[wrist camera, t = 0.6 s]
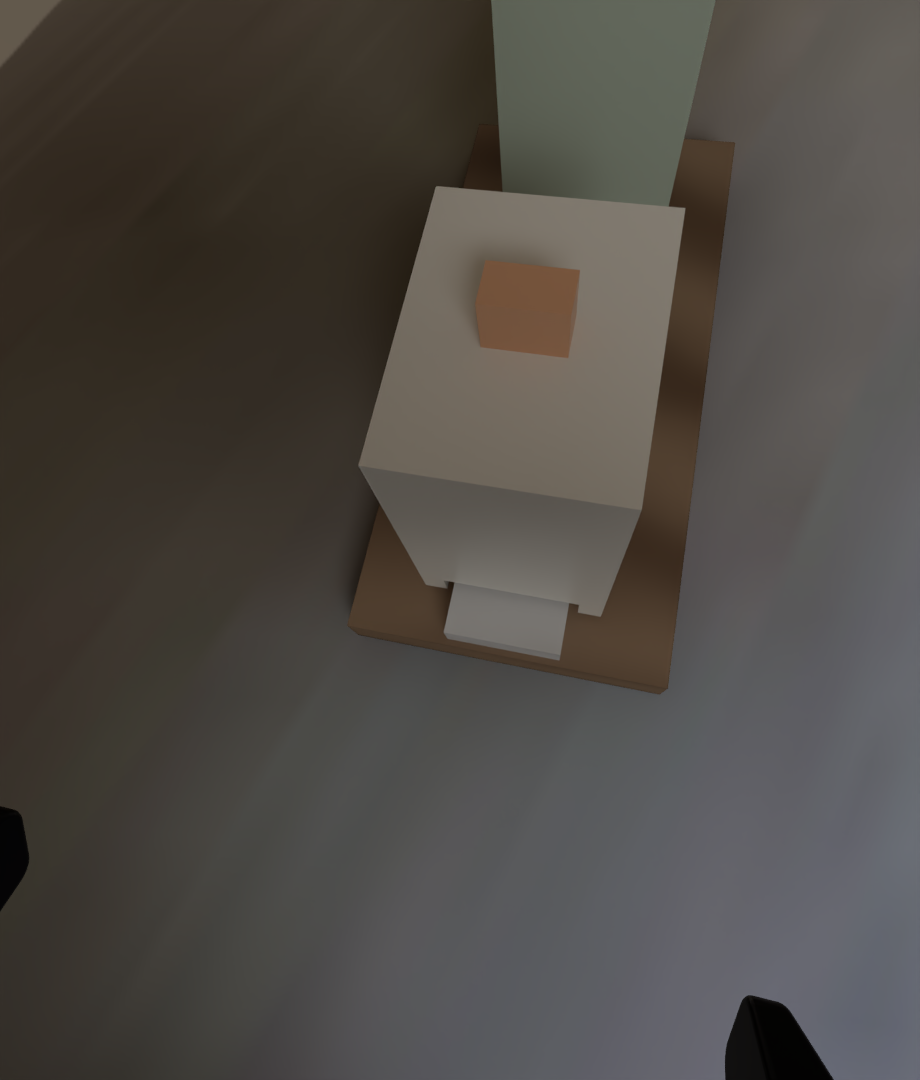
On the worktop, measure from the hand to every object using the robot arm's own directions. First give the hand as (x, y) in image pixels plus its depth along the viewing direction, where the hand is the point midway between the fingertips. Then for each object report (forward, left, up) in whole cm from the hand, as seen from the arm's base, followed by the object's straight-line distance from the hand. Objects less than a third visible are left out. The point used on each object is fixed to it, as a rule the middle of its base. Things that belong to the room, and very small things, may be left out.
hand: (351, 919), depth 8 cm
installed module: (+20, -12, -12) cm, 26 cm away
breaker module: (+9, -5, -12) cm, 16 cm away
